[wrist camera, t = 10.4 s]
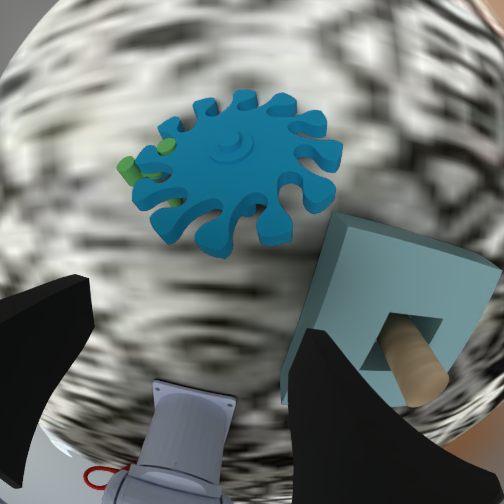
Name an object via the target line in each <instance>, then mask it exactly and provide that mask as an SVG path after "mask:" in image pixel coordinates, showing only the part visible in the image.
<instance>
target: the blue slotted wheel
mask: <svg viewBox="0 0 504 504" xmlns="http://www.w3.org/2000/svg"><path fill="white" fill-rule="evenodd" d="M257 105H258V101H257V95H256V92H255V91H251V90H237V91H236V92H234V94H233V101H232V103H231V104H230V106H229V107H228V108H227V109H226V110H224V111H223V112H222V113H221V114H219V115H217V113H218V108H217V105H216V102H215V99H214V98H206V99H202V100H198V101H195V102H194V103H193V109H194V112H195V114H196V117H197V122H196V124H195V126H194V128H192V129H191V130H189V131H187V132H184V128H183V126H182V124H181V121H180V119H179V118H178V117H175V116H174V117H172V118H170V119H168V120H166V121H165V122H163V123H162V124H161V125H159V126H158V131H159V133H160V135H161V136H162V138H163V140H162V141H161V142H160V143H159V144H158V146H157V148H156V147H155V146H153V145H148V146H146V147H145V148H144V149H143V150H142V151H141V152H140V153H139V155H138V156H137V158H136V159H135V160H134V158H133V157H131V156H129V157H126V158H124V159H122V160H121V161H120V162H119V164H118V166H117V170H118V171H119V173H120V174H121V175H122V177H123V178H124V179H125V180H126V182H127V183H128V184H129V186H134V187H133V191H132V201H133V203H134V204H135V205H136V206H137V207H138V209H139V210H140V211H148V210H150V209H152V208H153V207H155V206H156V205H158V204H159V203H161V202H164V201H166V200H167V201H168V202H169V204H170V205H171V206H172V207H175V208H161V209H159V210H157V211H155V212H154V213H153V214H152V215H151V217H150V223H151V225H152V227H153V228H154V230H155V231H156V232H157V233H158V235H159V236H160V237H161V238H162V239H163V240H164V241H165V242H166V243H167V244H168V245H169V244H172V243H174V242H176V241H177V240H178V239H179V238H180V237H181V235H182V233H183V232H184V230H185V229H186V228H187V226H188V225H189V224H190V223H191V222H192V221H193V220H195V219H196V218H198V217H199V216H201V215H203V214H205V213H207V212H209V211H211V210H214V209H221V210H223V211H222V213H221V215H220V216H219V217H218V218H216V219H214V220H212V221H210V222H207V223H205V224H204V225H202V226H201V227H200V228H199V229H198V230H197V232H196V234H195V240H194V241H195V242H196V243H197V245H198V246H199V248H200V249H201V250H202V251H203V252H205V253H206V254H208V255H211V256H214V257H217V258H222V259H226V258H227V257H228V256H229V255H230V254H231V252H232V249H233V232H234V228H235V225H236V223H237V221H238V219H239V218H240V217H241V215H242V216H244V217H250V216H253V215H254V214H255V213H256V204H263V205H265V206H266V207H267V208H266V209H265V210H264V212H263V213H262V214H261V215H260V217H259V218H258V220H257V224H256V228H257V232H258V236H259V240H260V242H261V244H262V245H263V246H276V245H281V244H285V243H288V242H291V241H292V237H293V223H292V219H291V218H290V216H289V215H288V214H287V213H286V212H285V211H284V209H283V208H282V206H281V205H280V203H279V200H278V193H279V190H280V188H281V187H282V186H283V185H285V184H289V183H293V184H296V185H298V186H300V187H301V189H302V191H303V205H304V207H305V208H306V210H307V211H309V212H310V213H312V214H317V213H320V212H321V211H323V210H325V209H326V208H327V207H328V206H329V205H330V204H331V203H332V202H333V201H334V198H335V193H336V187H335V185H334V184H333V182H331V181H330V180H329V179H327V178H324V177H320V176H318V175H315V174H313V173H311V172H310V171H308V170H307V169H305V168H304V167H303V166H302V165H301V164H300V163H299V162H298V160H297V159H298V158H300V157H309V158H311V159H313V160H314V161H315V162H316V164H317V165H318V166H319V167H320V168H321V169H322V170H324V171H326V172H329V173H336V171H337V170H338V168H339V166H340V162H341V156H342V150H343V144H342V143H340V142H338V141H335V140H311V139H307V138H303V137H301V136H298V135H296V134H294V133H302V134H305V135H308V136H310V137H313V138H323V137H325V136H326V131H327V120H326V117H325V115H324V114H323V113H322V111H319V110H311V111H308V112H306V113H304V114H301V115H297V116H293V115H295V114H296V113H297V101H296V99H295V98H293V97H292V96H290V95H288V94H286V93H278V94H276V95H274V96H273V98H272V99H271V100H270V101H269V102H267V103H266V104H264V105H262V106H260V107H258V108H256V107H257ZM254 108H255V109H254ZM216 115H217V116H216ZM290 116H292V117H290ZM180 198H187V200H186V201H185V203H184V204H182V205H181V206H179V205H180V204H181V199H180ZM178 206H179V207H178Z"/></svg>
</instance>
